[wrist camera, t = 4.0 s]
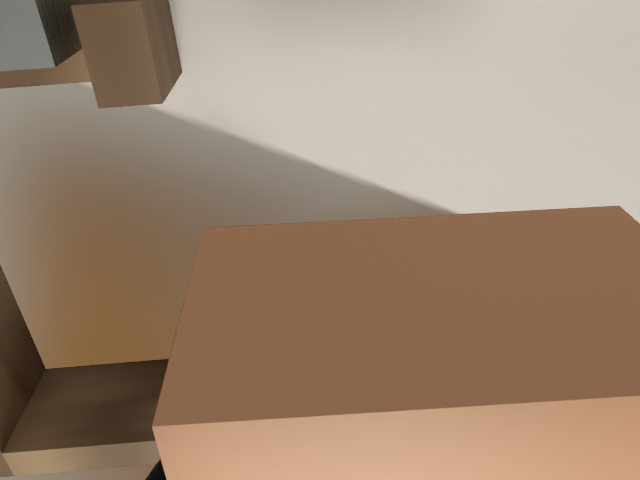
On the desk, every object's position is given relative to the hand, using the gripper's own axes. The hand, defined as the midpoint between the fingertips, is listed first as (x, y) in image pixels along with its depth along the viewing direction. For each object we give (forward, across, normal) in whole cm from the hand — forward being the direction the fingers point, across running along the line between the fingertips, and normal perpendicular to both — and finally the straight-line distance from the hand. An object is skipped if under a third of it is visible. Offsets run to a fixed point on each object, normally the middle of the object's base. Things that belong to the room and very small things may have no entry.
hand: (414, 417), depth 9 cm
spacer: (+1, 0, 0) cm, 1 cm away
